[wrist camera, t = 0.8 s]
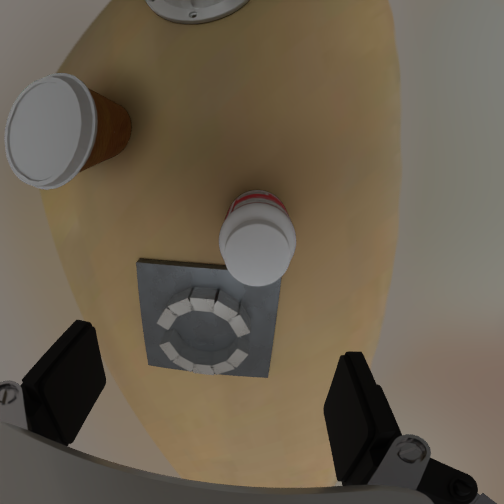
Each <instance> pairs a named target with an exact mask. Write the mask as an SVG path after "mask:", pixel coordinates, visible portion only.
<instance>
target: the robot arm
mask: <svg viewBox="0 0 504 504" xmlns="http://www.w3.org/2000/svg"><path fill="white" fill-rule="evenodd" d="M248 1H249V0H146V2H147V4H148V6H149V7H150V8H151V9H152V10H153V11H154V12H155V13H156V14H157V15H158V16H160V17H162V18H164V19H166V20H169V21H172V22H176V23H183V24H198V23H205V22H210V21H214V20H217V19H220V18H223V17H225V16H227V15H230V14H232V13H233V12H235V11H237V10H238V9H240V8H241V7H242V6H243V5H245V4H246V3H247V2H248ZM194 16H196V17H195V18H193V17H194ZM22 381H23V383H22V384H21V386H20V385H19V384H18V383H16V382H14V381H3V382H0V504H497V503H495V502H494V501H493V500H491V499H490V498H489V497H488V496H486V495H485V494H484V493H482V494H481V495H479V494H478V493H477V492H478V488H477V483H476V481H475V480H474V479H473V478H472V477H471V476H470V475H468V474H465V473H463V472H461V471H459V470H456V469H454V468H452V467H450V466H447V465H445V464H443V463H441V462H439V461H436V460H434V459H432V458H430V455H431V451H430V447H429V446H428V444H427V442H426V441H424V440H423V439H422V438H420V437H419V436H415V435H409V434H406V435H402V434H401V431H400V429H399V427H398V424H397V422H396V420H395V417H394V415H393V413H392V410H391V408H390V406H389V403H388V401H387V399H386V397H385V394H384V392H383V390H382V388H381V386H380V385H377V384H376V382H375V380H374V378H373V375H372V373H371V371H370V369H369V366H368V364H367V362H366V360H365V358H364V355H363V353H362V352H346V353H345V355H341V356H340V359H339V362H338V365H337V368H336V371H335V374H334V377H333V381H332V384H331V387H330V390H329V392H328V395H327V398H326V401H325V404H324V416H325V421H326V426H327V431H328V436H329V441H330V446H331V451H332V456H333V461H334V466H335V472H336V477H337V480H338V481H342V485H343V486H333V487H313V488H267V487H247V486H234V485H224V484H215V483H207V482H200V481H193V480H187V479H181V478H176V477H170V476H165V475H160V474H156V473H151V472H147V471H143V470H139V469H135V468H131V467H128V466H124V465H120V464H117V463H114V462H110V461H107V460H104V459H101V458H98V457H94V456H92V455H89V454H86V453H83V452H81V451H78V450H75V449H72V448H70V447H67V446H68V444H71V443H72V442H73V441H74V440H75V438H76V436H77V434H78V432H79V430H80V429H81V427H82V425H83V423H84V421H85V420H86V418H87V416H88V414H89V412H90V411H91V409H92V407H93V405H94V403H95V402H96V400H97V399H98V397H99V395H100V393H101V392H102V390H103V388H104V386H105V384H106V377H105V372H104V368H103V364H102V360H101V355H100V350H99V345H98V340H97V335H96V330H95V328H94V327H92V324H91V323H90V322H86V321H82V320H76V321H75V322H74V323H73V324H72V325H71V326H70V327H69V328H68V329H67V330H66V331H65V332H64V333H63V335H62V336H61V337H60V338H59V339H58V340H57V341H56V342H55V343H54V344H53V345H52V346H51V347H50V349H49V350H48V351H47V352H46V353H45V354H44V355H43V356H42V357H41V359H40V360H39V361H38V362H37V363H36V364H35V365H34V367H32V369H31V370H30V371H29V372H28V373H27V374H26V376H25V377H24V378H23V379H22Z"/></svg>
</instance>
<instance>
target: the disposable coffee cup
mask: <svg viewBox="0 0 504 504" xmlns="http://www.w3.org/2000/svg"><path fill="white" fill-rule="evenodd" d="M131 128H132V127H131V120H130V117H129V115H128V113H127V111H126V110H125V109H124V108H123V107H122V106H120V105H118V104H116V103H114V102H113V101H111V100H109V99H107V98H106V97H104V96H102V95H100V94H98V93H96V92H94V91H92V90H90V89H89V88H87V87H86V85H85V84H84V83H83V82H82V81H81V80H79V79H78V78H76V77H75V76H72V75H69V74H66V73H56V74H52V75H48V76H46V77H44V78H41V79H39V80H36V81H34V82H33V83H32V84H30V85H29V86H27V87H26V88H25V89H24V90H23V91H22V92H21V94H20V95H19V96H18V98H17V99H16V101H15V103H14V104H13V106H12V108H11V110H10V113H9V116H8V119H7V123H6V128H5V148H6V156H7V159H8V162H9V164H10V167H11V169H12V170H13V172H14V173H15V174H16V176H17V177H18V178H19V179H20V180H21V181H23V182H25V183H26V184H29V185H32V186H34V187H37V188H40V189H46V190H47V189H54V188H58V187H60V186H62V185H64V184H66V183H67V182H69V181H70V180H72V179H73V178H74V177H75V176H76V175H77V174H78V173H79V172H81V171H83V170H85V169H87V168H89V167H91V166H94V165H96V164H98V163H100V162H102V161H105V160H107V159H109V158H112V157H114V156H116V155H118V154H119V153H120V152H121V151H122V150H123V149H124V148H125V147H126V145H127V143H128V141H129V139H130V135H131Z"/></svg>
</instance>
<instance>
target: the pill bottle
mask: <svg viewBox="0 0 504 504" xmlns="http://www.w3.org/2000/svg"><path fill="white" fill-rule="evenodd" d="M295 247H296V234H295V230H294V227H293V224H292V222H291V220H290V218H289V215H288V213H287V211H286V209H285V207H284V205H283V203H282V202H281V201H280V200H279V199H278V198H277V197H276V196H275V195H273V194H271V193H269V192H266V191H262V190H253V191H248V192H246V193H243V194H242V195H240V196H239V197H237V198H236V199H235V200H234V202H233V203H232V204H231V206H230V208H229V210H228V213H227V215H226V218H225V220H224V222H223V225H222V227H221V230H220V234H219V248H220V252H221V255H222V257H223V259H224V261H225V264H226V267H227V269H228V271H229V272H230V274H231V275H232V276H233V277H234V278H235V279H236V280H238V281H239V282H241V283H243V284H246V285H249V286H265V285H269V284H271V283H273V282H275V281H277V280H278V279H279V278H280V277H282V275H283V274H284V273H285V272H286V270H287V268H288V266H289V263H290V260H291V259H292V257H293V255H294V252H295Z"/></svg>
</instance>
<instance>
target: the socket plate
mask: <svg viewBox="0 0 504 504" xmlns="http://www.w3.org/2000/svg"><path fill="white" fill-rule="evenodd" d="M136 266H137V279H138V289H139V299H140V308H141V317H142V325H143V332H144V339H145V346H146V352H147V359H148V365H151V366H157V367H164V368H171V369H178V370H185V371H190V372H191V371H193V373H200V374H209V375H214V374H216V375H217V374H222V375H233V376H247V377H264V378H268V373H269V366H270V359H271V352H272V345H273V338H274V331H275V323H276V316H277V308H278V300H279V292H280V284H281V277H280V278H279V279H278V280H277V281H275V282H273V283H271V284H269V285H265V286H249V285H246V284H243V283H241V282H239V281H238V280H236V279H235V278H234V277H233V276H232V275H231V274H230V272H229V271H228V269H227V267H226V265H213V264H200V263H188V262H176V261H164V260H152V259H141V258H140V259H139V260H138V261H137V262H136Z"/></svg>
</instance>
